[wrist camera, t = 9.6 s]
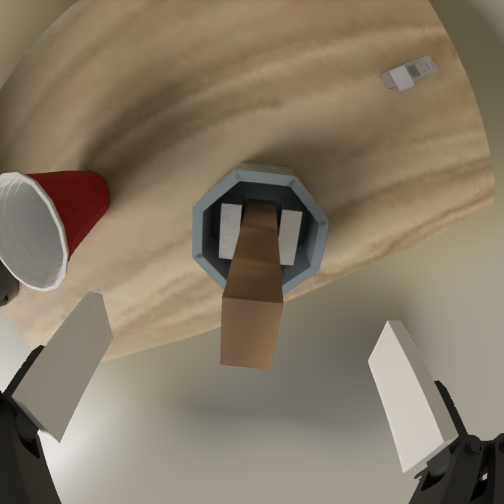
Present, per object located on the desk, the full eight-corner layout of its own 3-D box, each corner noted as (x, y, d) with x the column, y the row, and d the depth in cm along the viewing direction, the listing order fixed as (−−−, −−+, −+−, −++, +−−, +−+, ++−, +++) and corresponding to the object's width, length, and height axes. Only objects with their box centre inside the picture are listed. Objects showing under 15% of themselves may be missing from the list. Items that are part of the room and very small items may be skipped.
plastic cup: (87, 255, 29) (29, 310, 18) (46, 183, 25) (-24, 216, 15) (148, 214, 27) (85, 269, 16) (101, 129, 23) (18, 142, 12)
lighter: (408, 62, 18) (452, 47, 11) (416, 76, 19) (462, 67, 12) (355, 84, 20) (391, 69, 13) (365, 100, 21) (404, 91, 14)
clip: (225, 239, 27) (218, 257, 23) (228, 192, 25) (221, 203, 21) (289, 246, 27) (293, 265, 23) (296, 199, 25) (302, 212, 21)
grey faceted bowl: (204, 260, 29) (192, 288, 24) (209, 159, 24) (194, 167, 19) (304, 271, 29) (311, 301, 24) (322, 171, 24) (336, 182, 19)
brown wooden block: (245, 238, 27) (220, 364, 12) (248, 198, 25) (222, 297, 11) (270, 240, 27) (270, 369, 12) (274, 201, 25) (283, 303, 11)
